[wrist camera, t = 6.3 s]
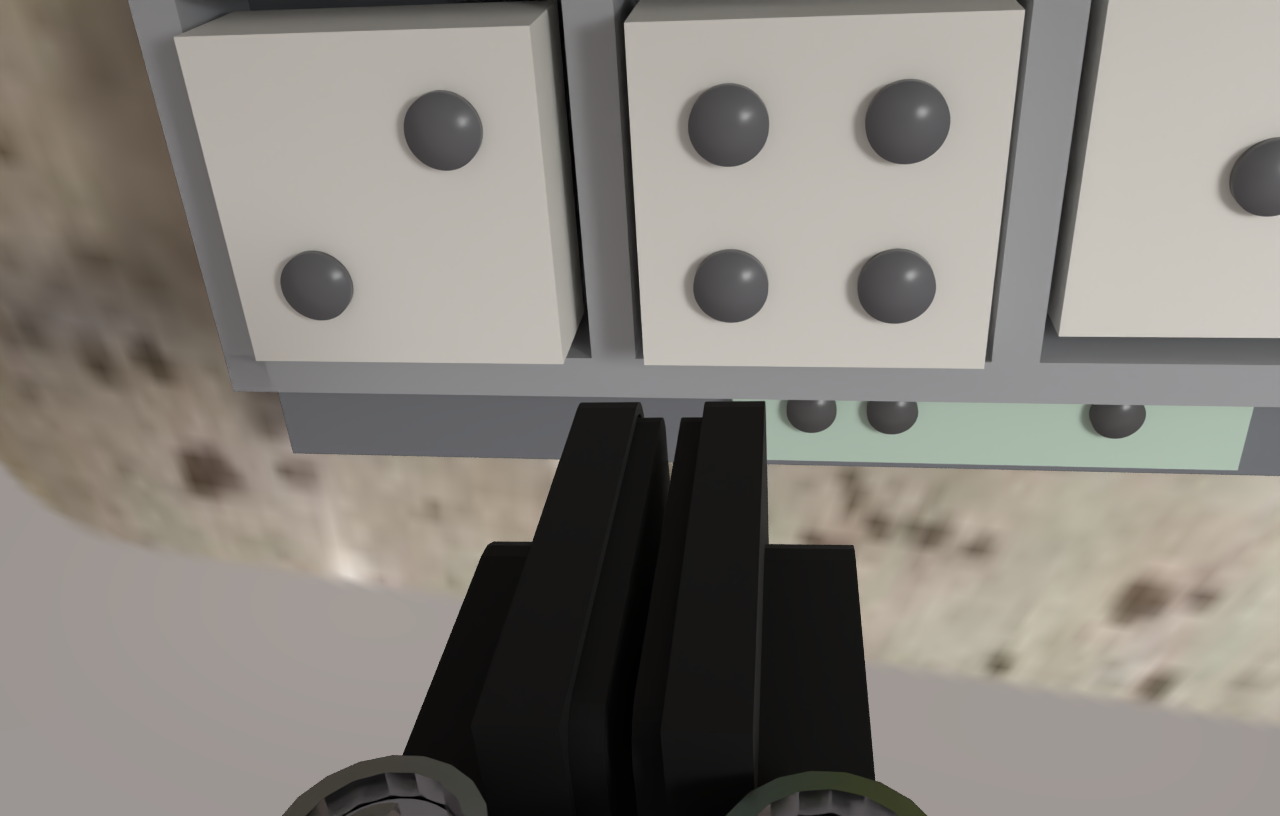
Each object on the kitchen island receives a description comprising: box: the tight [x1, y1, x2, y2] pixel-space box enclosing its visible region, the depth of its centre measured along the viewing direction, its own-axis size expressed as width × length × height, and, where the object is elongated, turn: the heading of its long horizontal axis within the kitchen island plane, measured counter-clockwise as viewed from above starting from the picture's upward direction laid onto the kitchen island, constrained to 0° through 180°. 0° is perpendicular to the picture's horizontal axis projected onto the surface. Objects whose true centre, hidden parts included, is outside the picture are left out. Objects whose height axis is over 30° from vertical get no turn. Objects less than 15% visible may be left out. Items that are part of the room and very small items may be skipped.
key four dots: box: [624, 0, 1025, 369], centre depth 18 cm, size 6×6×2 cm
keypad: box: [128, 0, 1280, 476], centre depth 19 cm, size 30×14×4 cm, turn 93°
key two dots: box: [174, 0, 584, 364], centre depth 19 cm, size 6×6×2 cm
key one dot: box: [1047, 0, 1280, 338], centre depth 18 cm, size 6×6×2 cm
